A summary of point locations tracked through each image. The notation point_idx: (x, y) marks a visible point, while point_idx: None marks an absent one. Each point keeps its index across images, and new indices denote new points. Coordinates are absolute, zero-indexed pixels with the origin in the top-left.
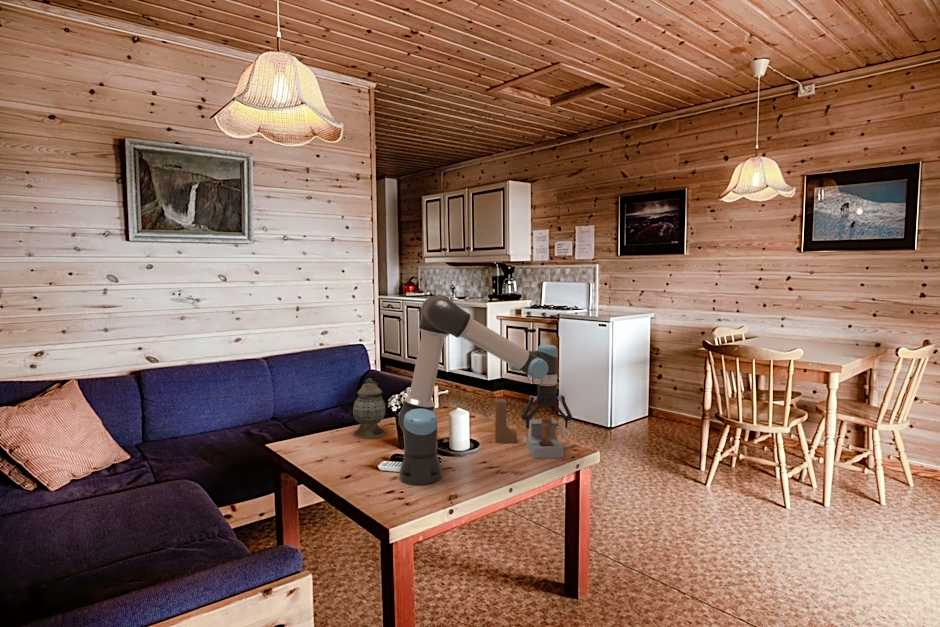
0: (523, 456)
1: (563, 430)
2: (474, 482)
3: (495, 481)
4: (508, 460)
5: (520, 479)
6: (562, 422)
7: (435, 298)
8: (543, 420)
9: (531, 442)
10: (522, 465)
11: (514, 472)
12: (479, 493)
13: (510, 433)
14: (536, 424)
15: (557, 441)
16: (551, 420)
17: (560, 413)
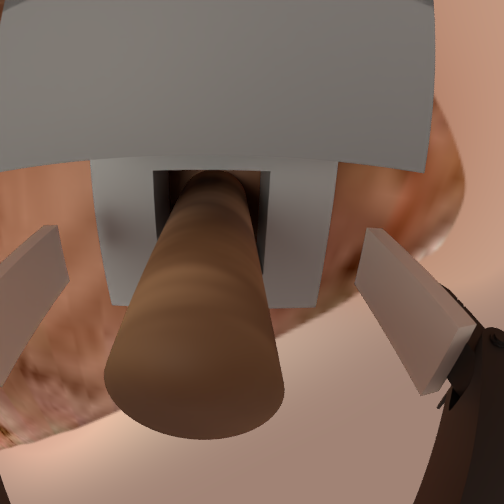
0: (78, 238)
1: (380, 317)
2: (3, 401)
3: (40, 411)
4: None
5: (96, 419)
6: (421, 343)
7: None
8: (137, 418)
9: (99, 185)
10: (83, 340)
11: (69, 383)
12: (34, 437)
13: (3, 6)
14: (78, 158)
15: (321, 176)
16: (268, 416)
17: (427, 486)
